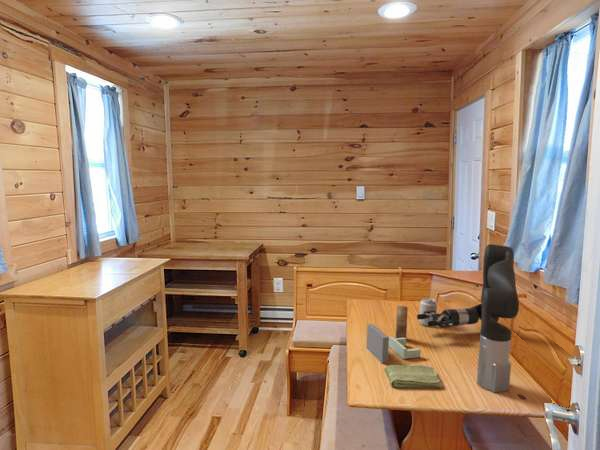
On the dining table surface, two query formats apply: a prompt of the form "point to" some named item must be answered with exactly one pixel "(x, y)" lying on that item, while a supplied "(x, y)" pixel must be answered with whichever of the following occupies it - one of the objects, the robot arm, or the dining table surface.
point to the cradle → (403, 348)
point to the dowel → (401, 322)
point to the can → (427, 308)
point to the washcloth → (412, 376)
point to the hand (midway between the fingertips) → (422, 320)
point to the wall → (377, 343)
